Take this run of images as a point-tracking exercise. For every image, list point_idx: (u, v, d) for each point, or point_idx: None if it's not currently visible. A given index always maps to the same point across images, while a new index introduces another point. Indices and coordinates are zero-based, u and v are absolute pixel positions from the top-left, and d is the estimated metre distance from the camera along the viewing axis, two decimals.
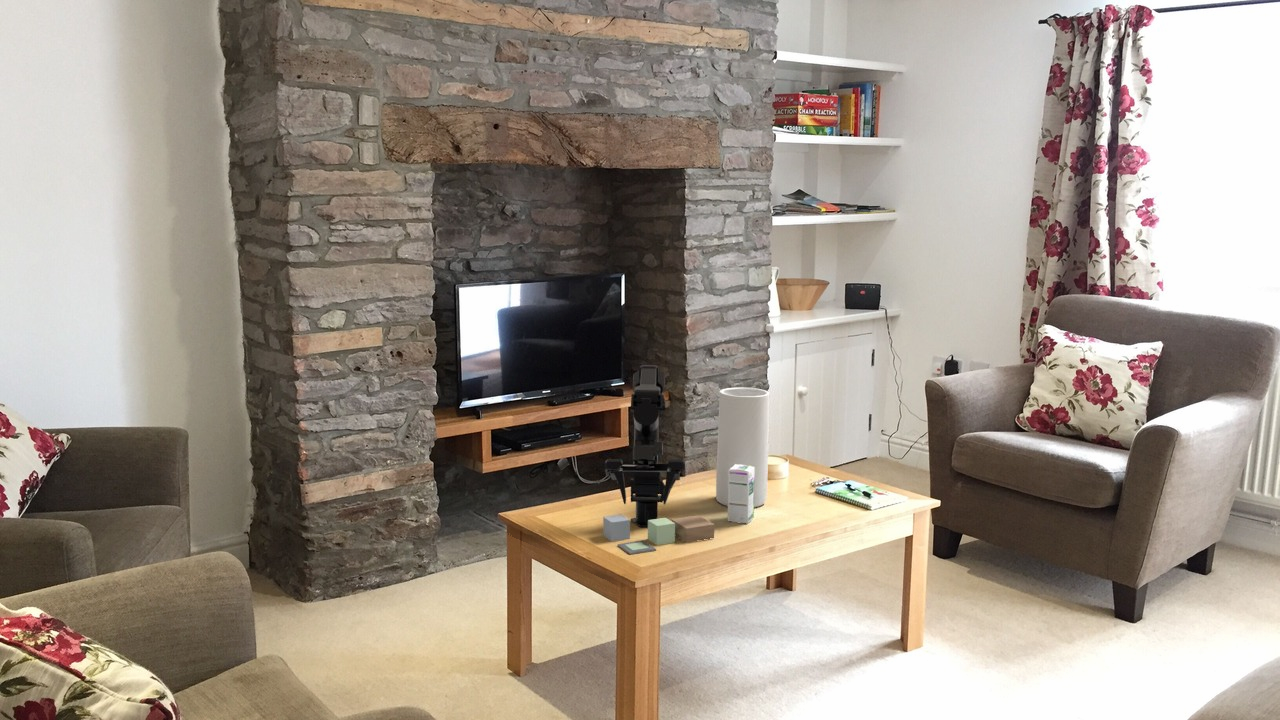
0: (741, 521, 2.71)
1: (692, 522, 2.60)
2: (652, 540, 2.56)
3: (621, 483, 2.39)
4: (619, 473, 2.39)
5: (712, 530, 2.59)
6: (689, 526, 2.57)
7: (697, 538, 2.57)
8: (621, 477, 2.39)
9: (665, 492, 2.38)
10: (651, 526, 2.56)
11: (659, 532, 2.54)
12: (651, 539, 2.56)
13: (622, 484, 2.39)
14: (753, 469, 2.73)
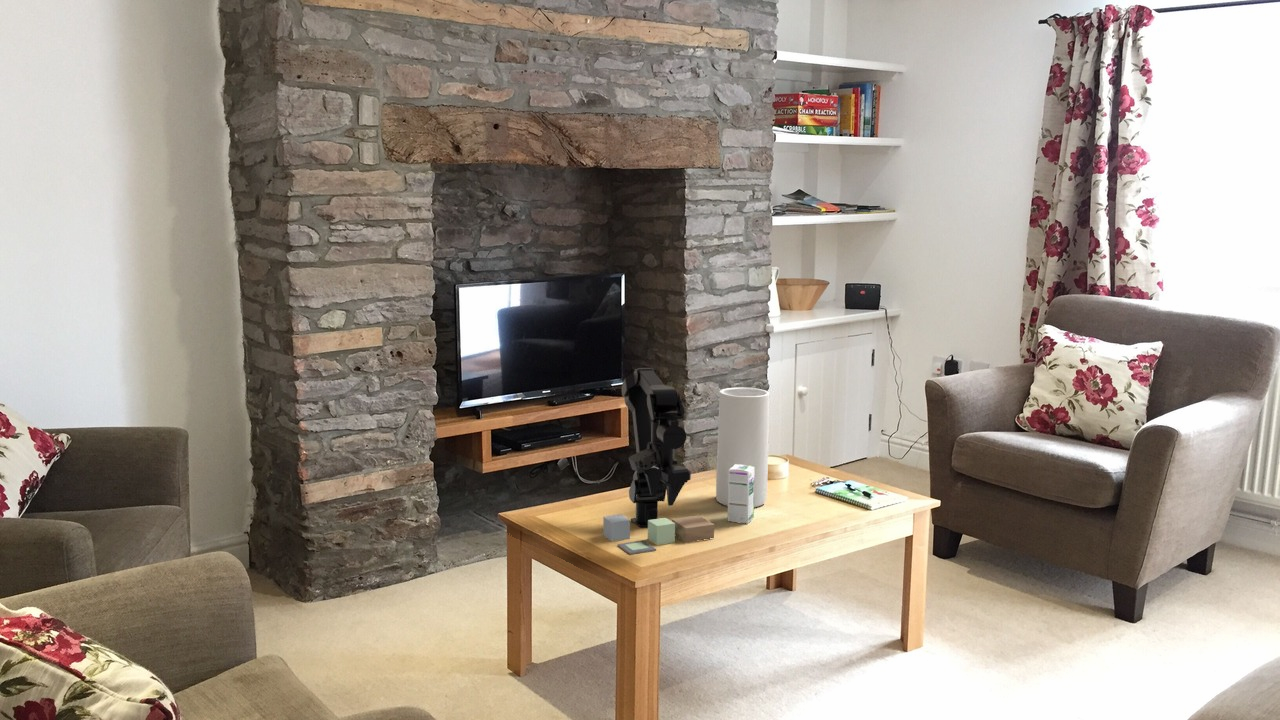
0: (741, 521, 2.71)
1: (692, 522, 2.60)
2: (652, 540, 2.56)
3: (647, 478, 2.59)
4: None
5: (712, 530, 2.59)
6: (689, 526, 2.57)
7: (697, 538, 2.57)
8: (645, 473, 2.59)
9: (667, 496, 2.51)
10: (651, 526, 2.56)
11: (659, 532, 2.54)
12: (651, 539, 2.56)
13: (647, 479, 2.59)
14: (753, 469, 2.73)
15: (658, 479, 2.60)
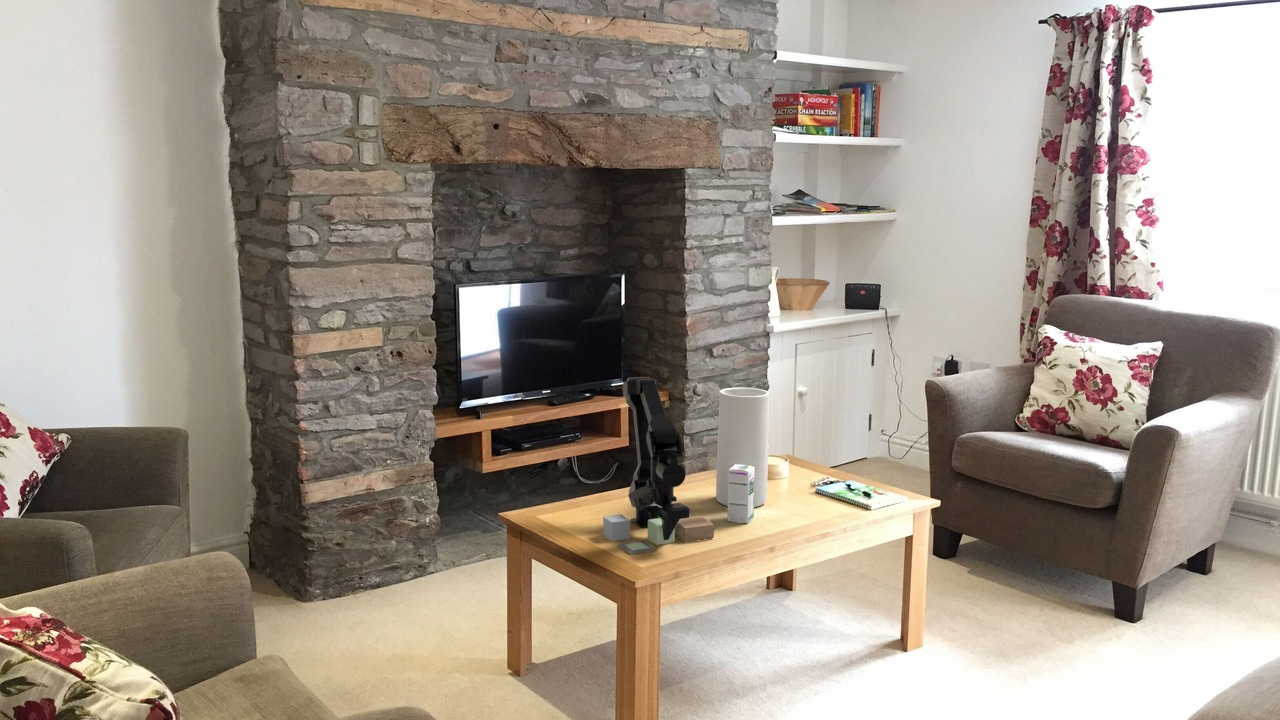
0: (741, 521, 2.71)
1: (692, 522, 2.60)
2: (652, 540, 2.56)
3: (650, 516, 2.59)
4: (645, 508, 2.58)
5: (712, 530, 2.59)
6: (688, 526, 2.57)
7: (696, 538, 2.57)
8: (648, 511, 2.58)
9: (663, 531, 2.54)
10: (651, 526, 2.56)
11: (659, 531, 2.54)
12: (651, 539, 2.56)
13: (650, 517, 2.59)
14: (753, 469, 2.73)
15: None
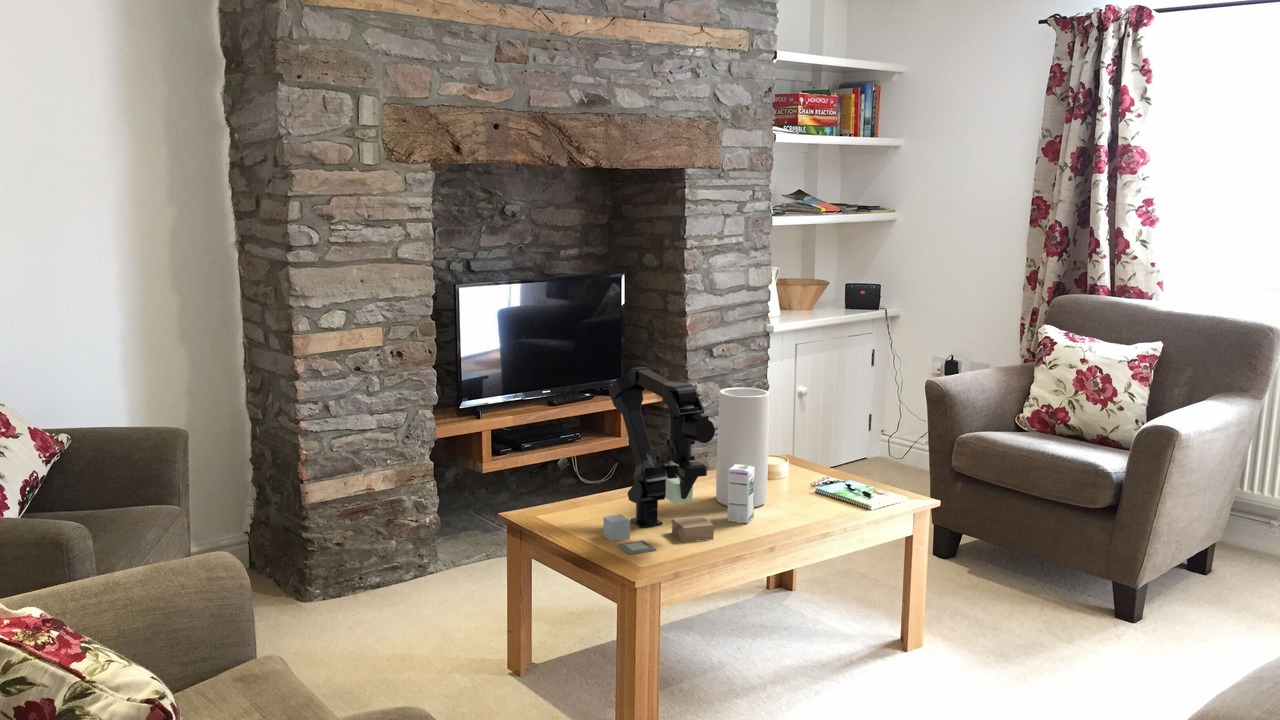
0: (741, 521, 2.71)
1: (691, 522, 2.60)
2: (670, 499, 2.56)
3: (668, 475, 2.59)
4: (663, 467, 2.59)
5: (711, 531, 2.58)
6: (688, 526, 2.57)
7: (695, 538, 2.57)
8: (666, 470, 2.59)
9: (680, 489, 2.54)
10: (669, 485, 2.57)
11: (676, 490, 2.54)
12: (669, 498, 2.57)
13: (669, 476, 2.59)
14: (753, 469, 2.73)
15: None
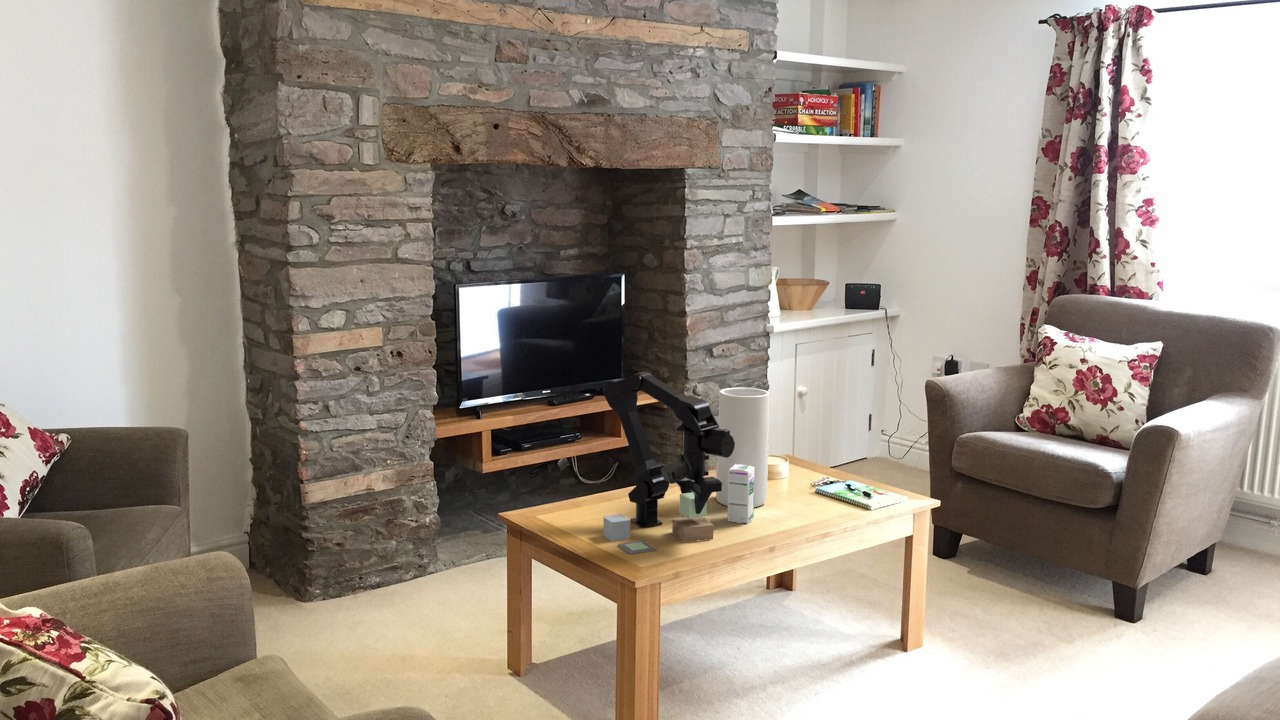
0: (741, 521, 2.71)
1: (691, 522, 2.60)
2: (684, 513, 2.59)
3: (682, 490, 2.62)
4: (676, 483, 2.61)
5: (711, 531, 2.58)
6: (687, 526, 2.57)
7: (695, 538, 2.57)
8: (680, 486, 2.62)
9: (695, 504, 2.57)
10: (683, 500, 2.59)
11: (691, 505, 2.57)
12: (683, 513, 2.60)
13: (682, 491, 2.62)
14: (753, 469, 2.73)
15: (692, 491, 2.63)
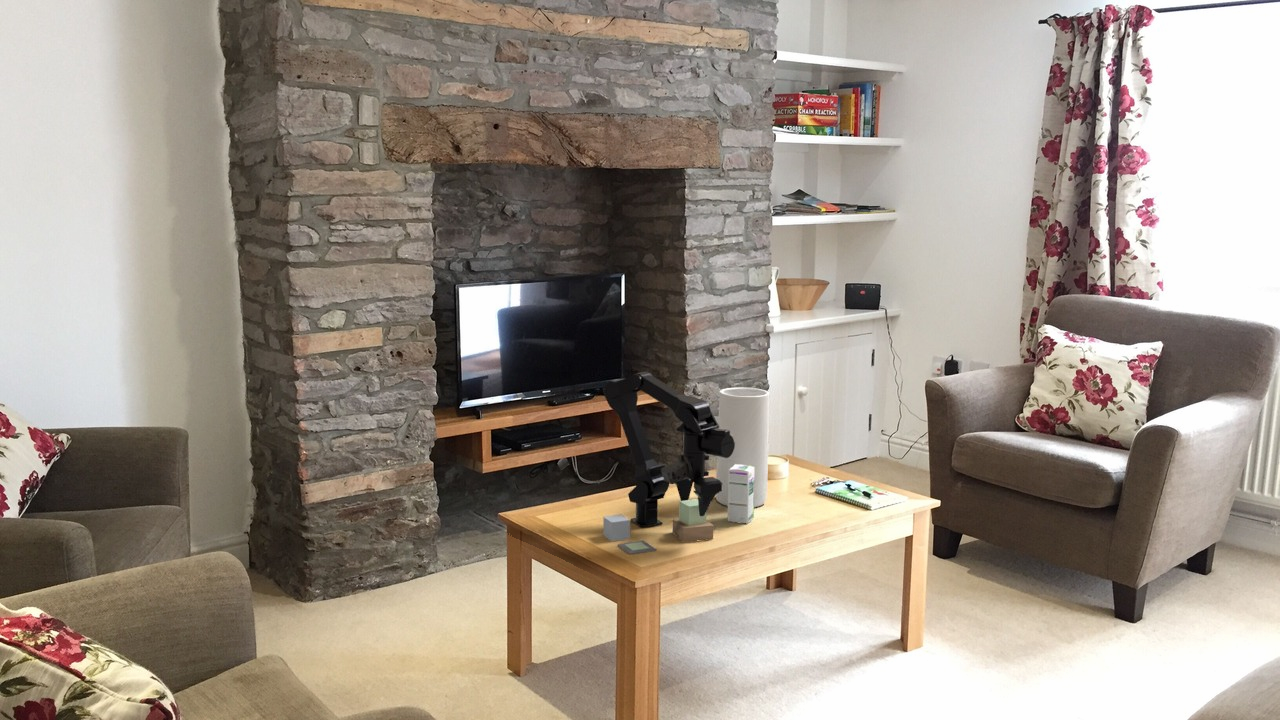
0: (741, 521, 2.71)
1: None
2: (684, 521, 2.60)
3: (678, 489, 2.64)
4: None
5: (711, 531, 2.58)
6: (687, 526, 2.57)
7: (695, 538, 2.57)
8: (676, 484, 2.63)
9: (699, 507, 2.55)
10: (683, 507, 2.60)
11: (691, 512, 2.57)
12: (683, 520, 2.60)
13: (679, 490, 2.63)
14: (753, 469, 2.73)
15: (689, 490, 2.64)
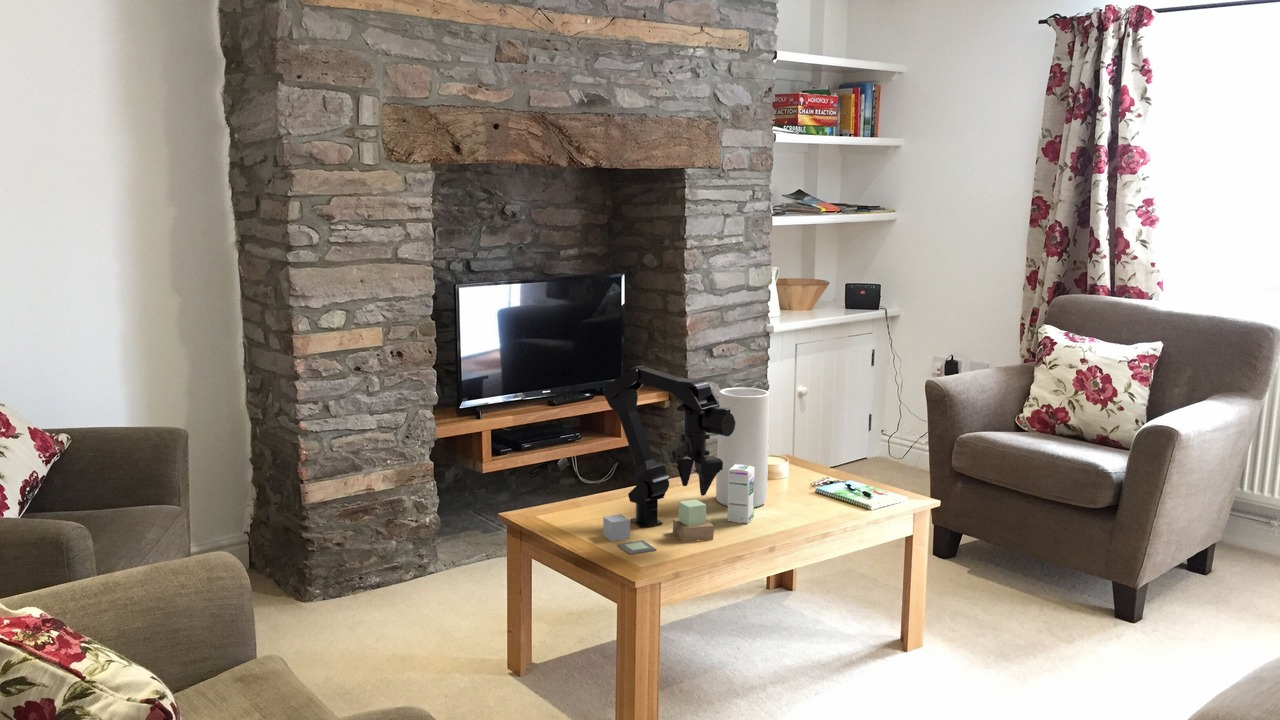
0: (741, 521, 2.71)
1: None
2: (683, 521, 2.59)
3: (679, 468, 2.63)
4: None
5: (711, 531, 2.58)
6: (687, 526, 2.57)
7: (695, 538, 2.57)
8: (677, 464, 2.62)
9: (700, 486, 2.54)
10: (682, 507, 2.59)
11: (691, 513, 2.57)
12: (682, 520, 2.60)
13: (679, 470, 2.63)
14: (753, 469, 2.73)
15: (690, 470, 2.64)
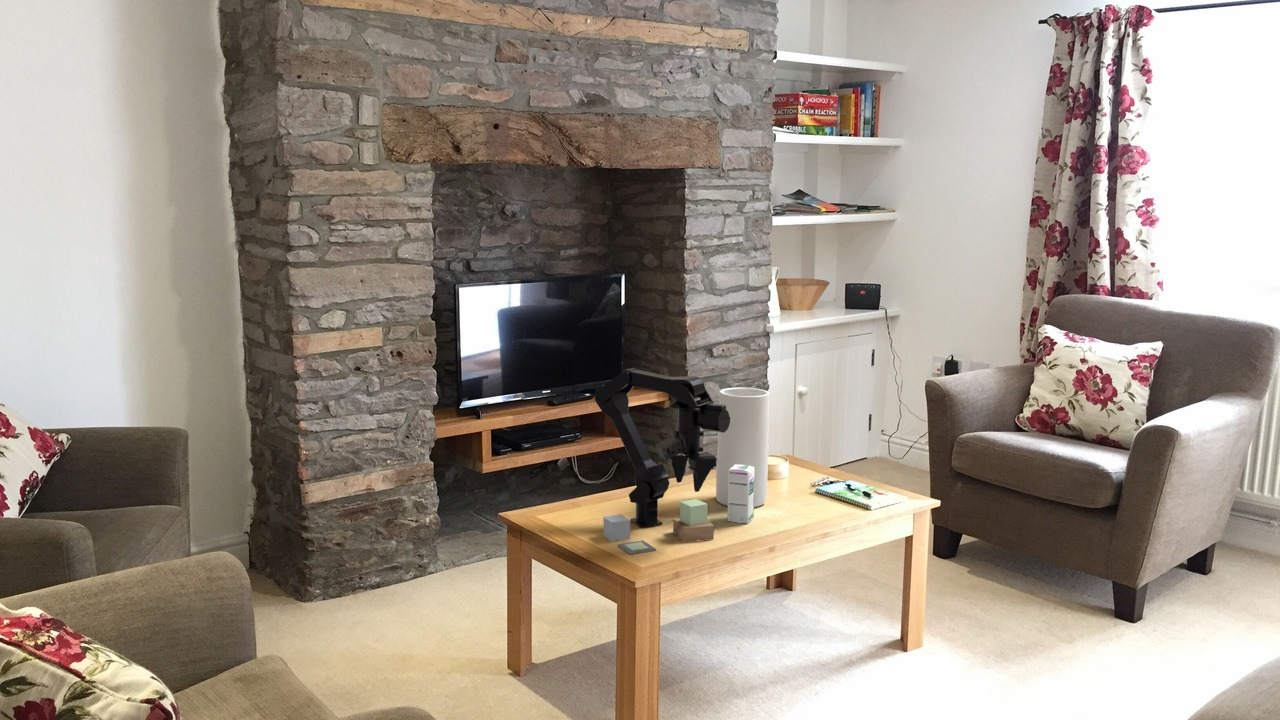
0: (741, 521, 2.71)
1: None
2: (685, 521, 2.59)
3: (673, 465, 2.65)
4: None
5: (711, 531, 2.58)
6: (687, 526, 2.57)
7: (695, 538, 2.57)
8: (671, 460, 2.65)
9: (694, 482, 2.57)
10: (684, 507, 2.59)
11: (692, 513, 2.57)
12: (684, 520, 2.60)
13: (674, 466, 2.65)
14: (753, 469, 2.73)
15: (684, 466, 2.66)
